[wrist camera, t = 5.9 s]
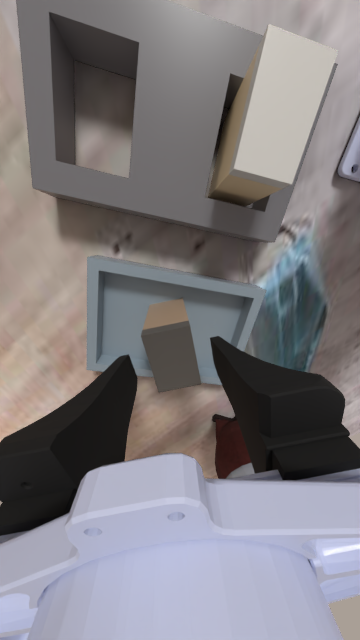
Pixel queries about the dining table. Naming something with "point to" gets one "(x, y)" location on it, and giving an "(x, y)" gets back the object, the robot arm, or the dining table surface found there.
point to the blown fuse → (170, 346)
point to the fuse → (271, 117)
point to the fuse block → (143, 107)
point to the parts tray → (154, 287)
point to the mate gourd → (230, 449)
